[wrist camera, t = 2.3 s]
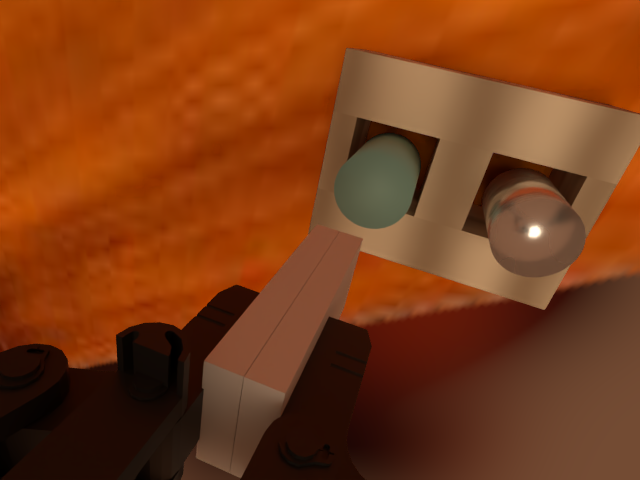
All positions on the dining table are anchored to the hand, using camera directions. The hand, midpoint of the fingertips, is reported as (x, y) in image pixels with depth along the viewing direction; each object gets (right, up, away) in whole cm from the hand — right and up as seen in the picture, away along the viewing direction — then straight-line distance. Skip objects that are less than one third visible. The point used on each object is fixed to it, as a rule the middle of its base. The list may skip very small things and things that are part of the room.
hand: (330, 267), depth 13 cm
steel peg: (+11, +3, +11) cm, 16 cm away
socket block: (+9, +6, +16) cm, 20 cm away
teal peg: (+4, +6, +12) cm, 14 cm away
